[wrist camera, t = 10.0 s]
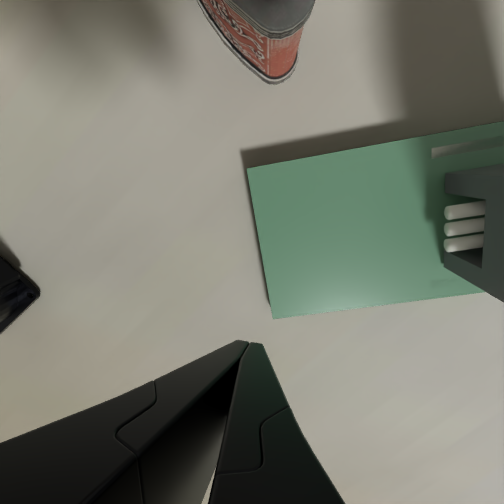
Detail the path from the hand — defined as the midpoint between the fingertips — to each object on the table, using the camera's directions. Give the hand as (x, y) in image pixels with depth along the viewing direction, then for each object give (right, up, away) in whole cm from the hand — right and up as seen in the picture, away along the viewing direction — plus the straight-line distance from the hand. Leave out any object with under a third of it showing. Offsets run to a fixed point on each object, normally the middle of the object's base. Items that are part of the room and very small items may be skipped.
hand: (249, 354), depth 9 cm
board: (+10, +5, +11) cm, 16 cm away
